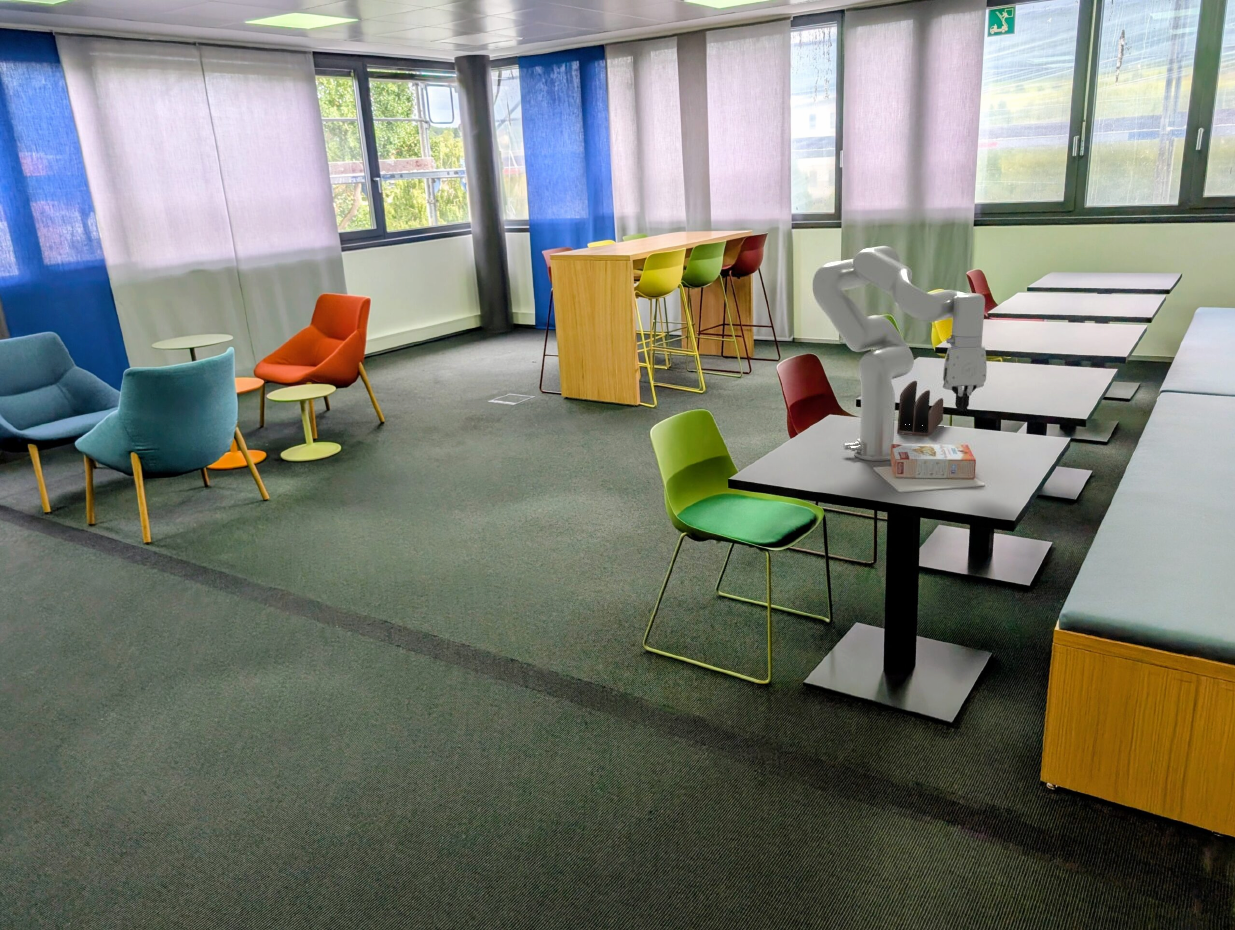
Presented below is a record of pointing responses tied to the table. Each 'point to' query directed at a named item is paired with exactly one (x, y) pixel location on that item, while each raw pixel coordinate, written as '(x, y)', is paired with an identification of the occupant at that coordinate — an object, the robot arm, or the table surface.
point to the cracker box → (932, 461)
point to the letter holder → (918, 412)
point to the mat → (924, 482)
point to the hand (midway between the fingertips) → (961, 409)
